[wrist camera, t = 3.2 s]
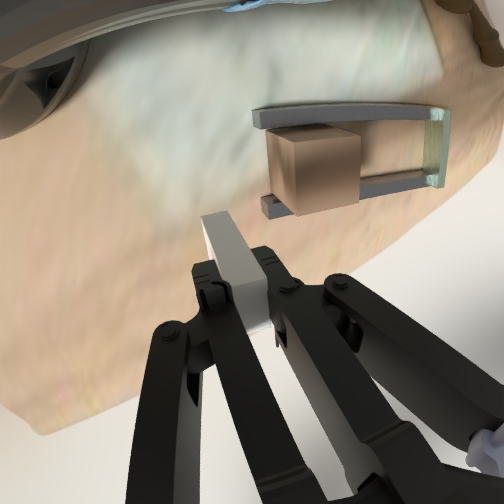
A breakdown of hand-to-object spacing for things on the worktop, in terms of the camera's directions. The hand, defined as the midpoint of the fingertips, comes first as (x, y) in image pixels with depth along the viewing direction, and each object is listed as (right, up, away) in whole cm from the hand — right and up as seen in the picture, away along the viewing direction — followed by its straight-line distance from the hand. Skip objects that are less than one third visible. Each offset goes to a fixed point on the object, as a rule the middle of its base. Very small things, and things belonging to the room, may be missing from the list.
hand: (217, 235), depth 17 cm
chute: (+13, +10, +12) cm, 20 cm away
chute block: (+6, +8, +11) cm, 15 cm away
